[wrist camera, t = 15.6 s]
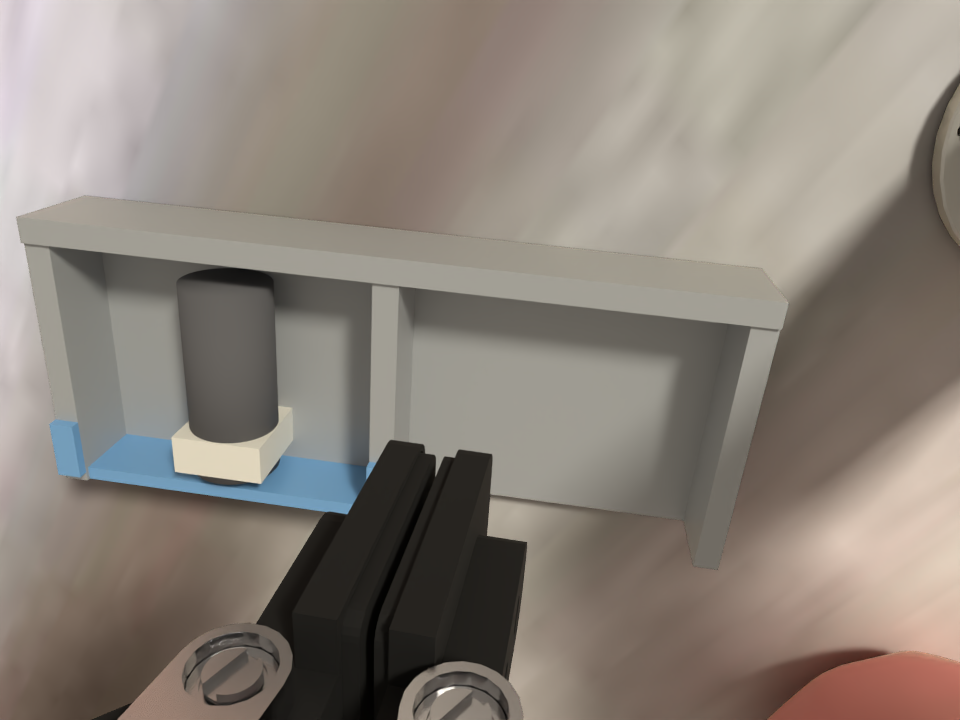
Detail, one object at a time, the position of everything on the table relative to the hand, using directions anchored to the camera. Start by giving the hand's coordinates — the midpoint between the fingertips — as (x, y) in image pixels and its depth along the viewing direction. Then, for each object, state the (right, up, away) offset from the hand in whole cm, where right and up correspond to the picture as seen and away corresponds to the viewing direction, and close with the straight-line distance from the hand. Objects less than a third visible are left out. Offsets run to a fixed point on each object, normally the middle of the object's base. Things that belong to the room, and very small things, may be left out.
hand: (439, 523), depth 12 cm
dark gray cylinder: (-12, +2, +25) cm, 28 cm away
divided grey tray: (-3, +3, +27) cm, 28 cm away
